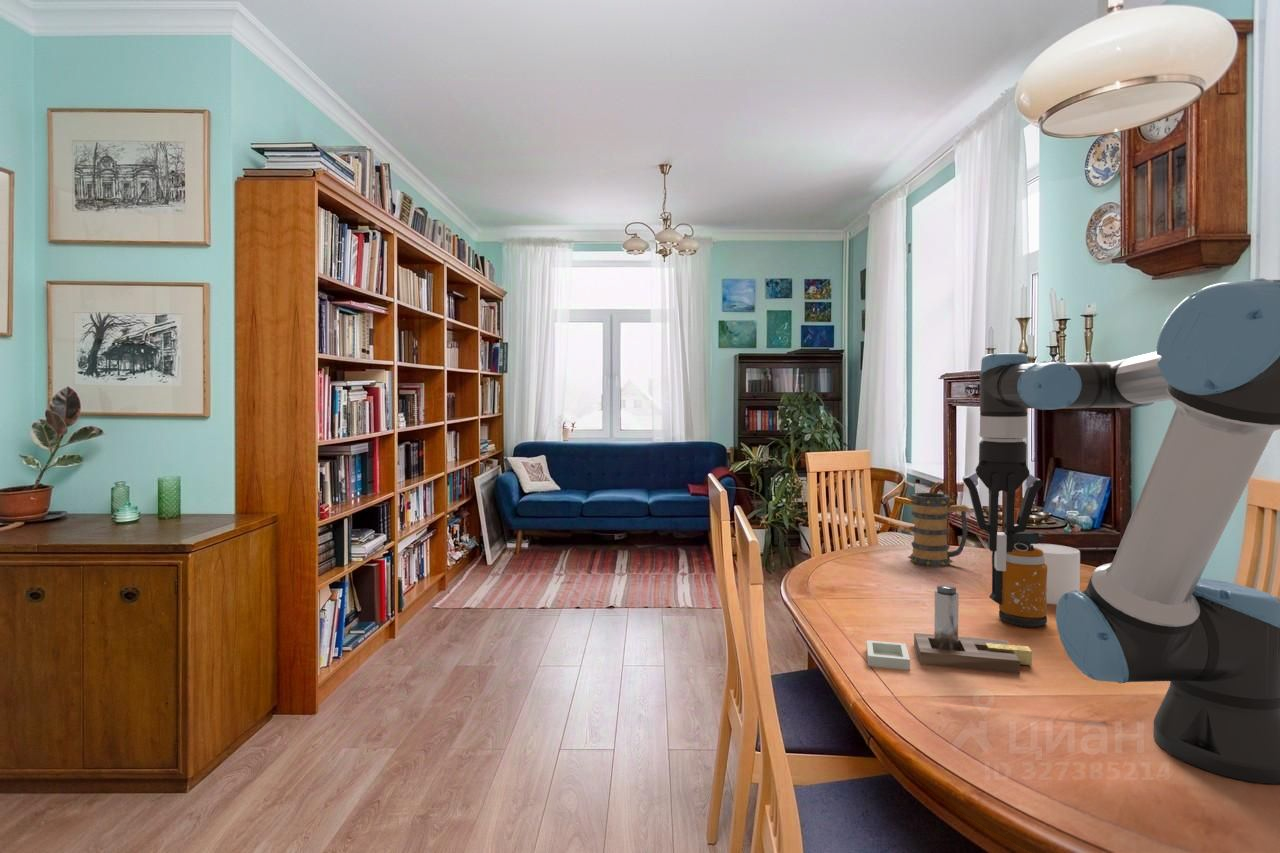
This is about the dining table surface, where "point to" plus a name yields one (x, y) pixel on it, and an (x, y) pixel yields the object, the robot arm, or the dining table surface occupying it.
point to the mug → (934, 529)
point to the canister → (1022, 583)
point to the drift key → (1013, 651)
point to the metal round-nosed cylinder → (946, 618)
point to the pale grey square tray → (887, 655)
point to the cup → (1060, 570)
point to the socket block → (966, 655)
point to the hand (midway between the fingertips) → (1000, 568)
